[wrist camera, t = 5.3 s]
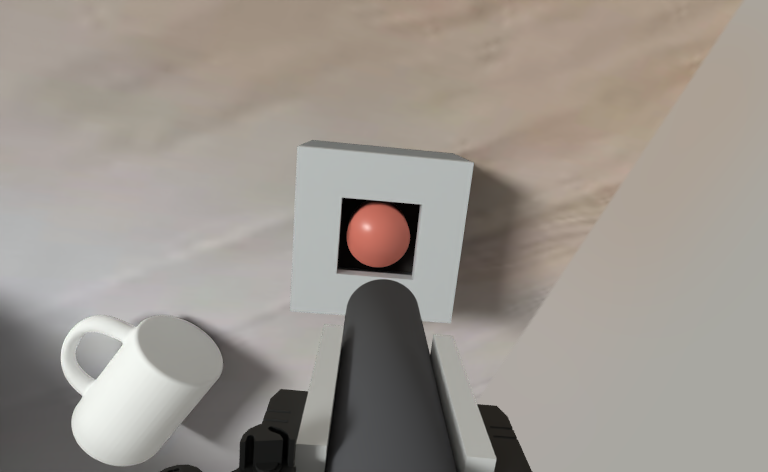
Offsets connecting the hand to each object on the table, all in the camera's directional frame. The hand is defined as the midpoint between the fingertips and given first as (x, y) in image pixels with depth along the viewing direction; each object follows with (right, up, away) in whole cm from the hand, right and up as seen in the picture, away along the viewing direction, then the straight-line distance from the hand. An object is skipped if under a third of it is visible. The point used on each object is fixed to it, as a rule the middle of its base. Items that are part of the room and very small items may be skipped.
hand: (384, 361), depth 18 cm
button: (-1, +6, +18) cm, 19 cm away
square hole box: (-1, +7, +22) cm, 23 cm away
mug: (-22, -6, +25) cm, 34 cm away
